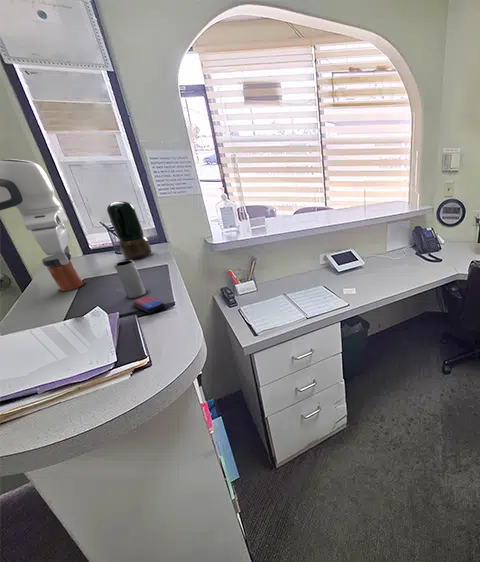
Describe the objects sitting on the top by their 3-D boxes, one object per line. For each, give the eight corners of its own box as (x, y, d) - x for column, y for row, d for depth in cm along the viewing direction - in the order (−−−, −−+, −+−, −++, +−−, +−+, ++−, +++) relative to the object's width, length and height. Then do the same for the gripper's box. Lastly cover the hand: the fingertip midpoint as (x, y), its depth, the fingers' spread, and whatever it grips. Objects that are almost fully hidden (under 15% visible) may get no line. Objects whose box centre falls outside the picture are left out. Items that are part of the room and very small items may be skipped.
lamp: (155, 251, 131) (136, 198, 122) (149, 258, 123) (128, 202, 114) (129, 254, 128) (108, 201, 119) (121, 262, 120) (97, 205, 111)
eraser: (132, 305, 86) (129, 300, 85) (148, 299, 89) (146, 294, 88) (150, 315, 80) (148, 309, 79) (167, 308, 83) (164, 302, 82)
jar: (59, 292, 96) (42, 264, 92) (61, 286, 100) (45, 259, 96) (82, 286, 99) (67, 259, 95) (83, 281, 103) (68, 254, 99)
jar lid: (50, 261, 97) (47, 255, 96) (73, 257, 99) (70, 251, 98) (40, 268, 92) (37, 262, 91) (65, 264, 94) (62, 258, 93)
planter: (148, 294, 93) (135, 262, 88) (130, 299, 89) (116, 267, 85) (143, 290, 95) (131, 258, 91) (126, 295, 92) (112, 263, 88)
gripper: (37, 214, 97) (58, 255, 103) (22, 225, 82) (47, 273, 88) (64, 210, 100) (83, 251, 106) (54, 221, 85) (76, 267, 91)
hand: (67, 261), depth 97 cm, fingers closed on jar lid, 5 cm apart
